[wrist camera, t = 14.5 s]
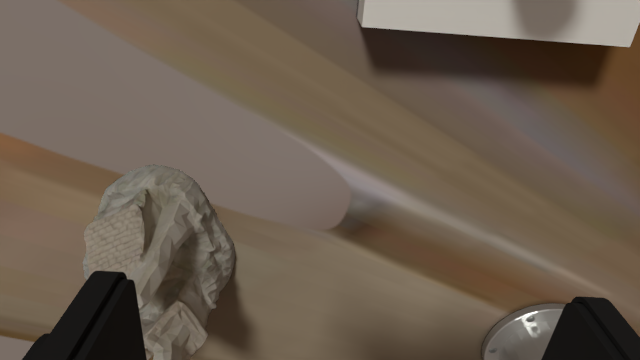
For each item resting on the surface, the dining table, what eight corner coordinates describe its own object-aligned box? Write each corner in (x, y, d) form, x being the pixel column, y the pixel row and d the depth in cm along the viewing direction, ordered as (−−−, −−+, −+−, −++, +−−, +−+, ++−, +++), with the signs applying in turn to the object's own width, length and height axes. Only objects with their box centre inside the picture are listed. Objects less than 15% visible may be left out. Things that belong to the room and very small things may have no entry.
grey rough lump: (197, 155, 39) (124, 274, 26) (254, 291, 47) (219, 434, 34) (41, 185, 41) (-98, 308, 28) (120, 309, 49) (41, 449, 36)
